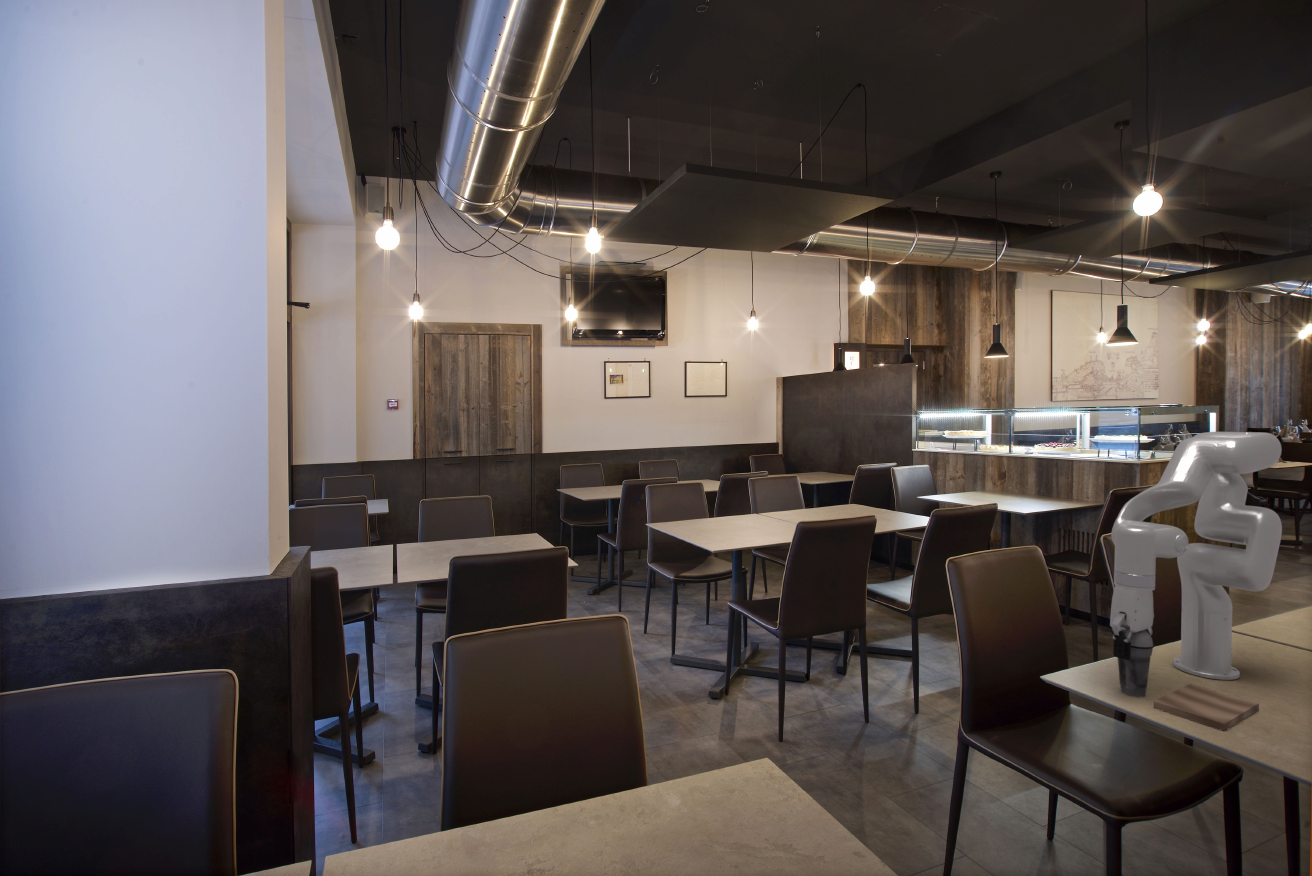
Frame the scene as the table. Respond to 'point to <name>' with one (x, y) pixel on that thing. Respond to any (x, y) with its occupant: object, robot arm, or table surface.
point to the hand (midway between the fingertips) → (1132, 654)
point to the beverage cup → (1136, 665)
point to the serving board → (1207, 706)
